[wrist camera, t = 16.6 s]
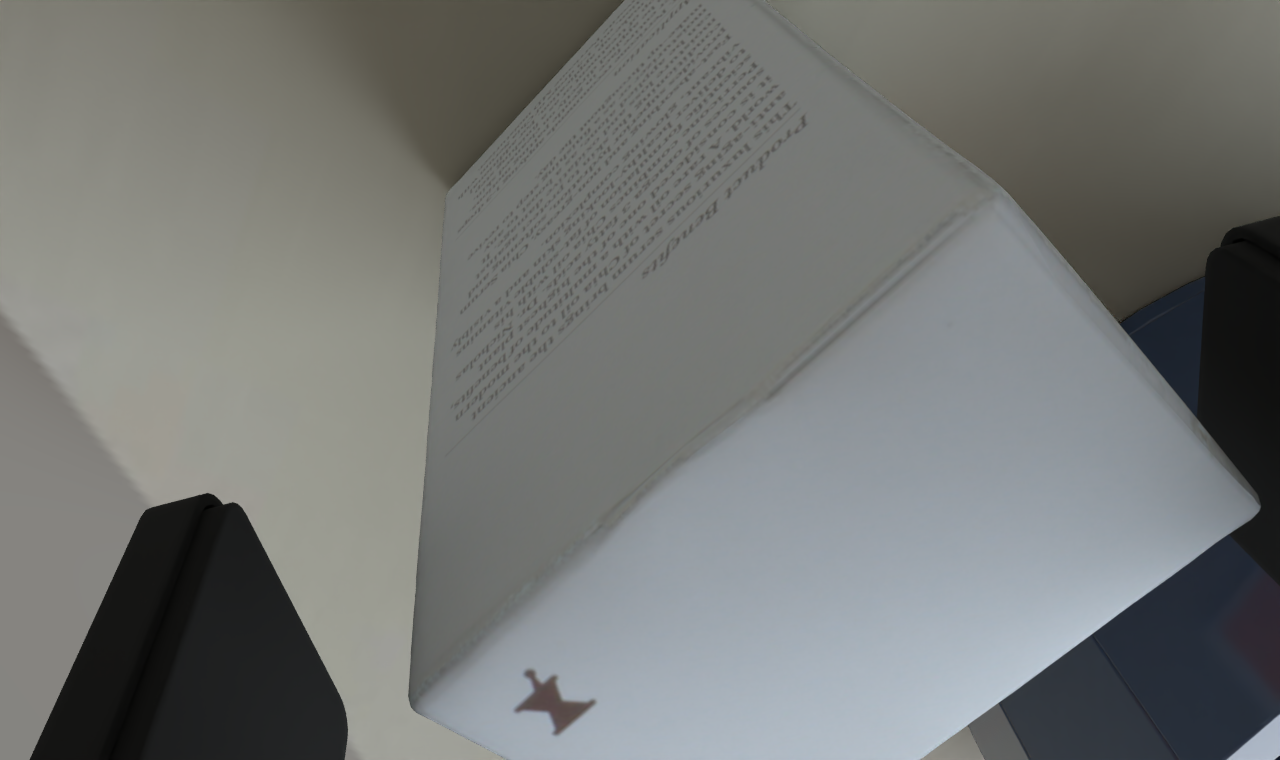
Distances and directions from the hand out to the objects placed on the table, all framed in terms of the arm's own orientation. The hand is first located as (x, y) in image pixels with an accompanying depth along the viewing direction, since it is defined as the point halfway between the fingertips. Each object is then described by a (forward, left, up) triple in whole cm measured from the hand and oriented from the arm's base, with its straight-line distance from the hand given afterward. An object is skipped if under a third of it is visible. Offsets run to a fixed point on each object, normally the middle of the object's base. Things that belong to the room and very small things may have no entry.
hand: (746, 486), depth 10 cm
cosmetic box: (0, 0, -10) cm, 10 cm away
